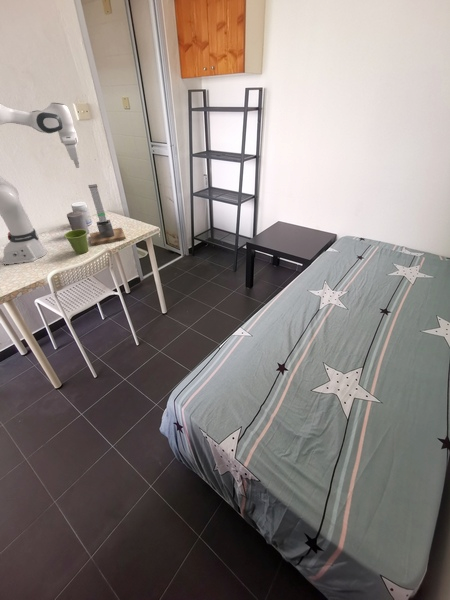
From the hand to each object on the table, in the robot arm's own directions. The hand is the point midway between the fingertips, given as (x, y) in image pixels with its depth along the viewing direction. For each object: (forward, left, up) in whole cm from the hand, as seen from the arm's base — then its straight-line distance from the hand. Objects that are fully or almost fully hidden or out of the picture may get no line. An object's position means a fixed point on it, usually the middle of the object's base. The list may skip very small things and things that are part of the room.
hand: (77, 166), depth 163 cm
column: (+5, -11, -30) cm, 32 cm away
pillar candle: (-10, +4, -41) cm, 43 cm away
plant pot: (-11, -24, -41) cm, 49 cm away
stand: (+5, -11, -41) cm, 43 cm away
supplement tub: (-7, +21, -41) cm, 47 cm away
